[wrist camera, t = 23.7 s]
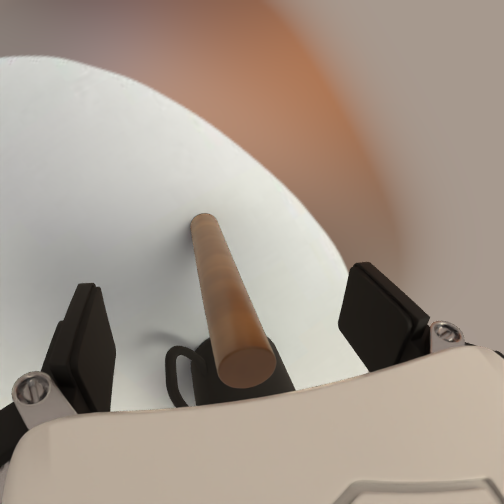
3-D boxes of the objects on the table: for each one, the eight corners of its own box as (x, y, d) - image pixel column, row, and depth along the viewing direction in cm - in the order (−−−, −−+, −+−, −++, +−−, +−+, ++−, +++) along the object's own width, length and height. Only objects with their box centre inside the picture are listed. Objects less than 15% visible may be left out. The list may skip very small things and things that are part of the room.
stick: (191, 212, 22) (220, 348, 9) (219, 213, 22) (282, 345, 10) (189, 239, 22) (215, 390, 10) (216, 240, 23) (271, 386, 11)
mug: (195, 290, 24) (213, 392, 15) (293, 351, 29) (337, 434, 20) (139, 354, 26) (136, 454, 16) (238, 400, 31) (262, 482, 22)
